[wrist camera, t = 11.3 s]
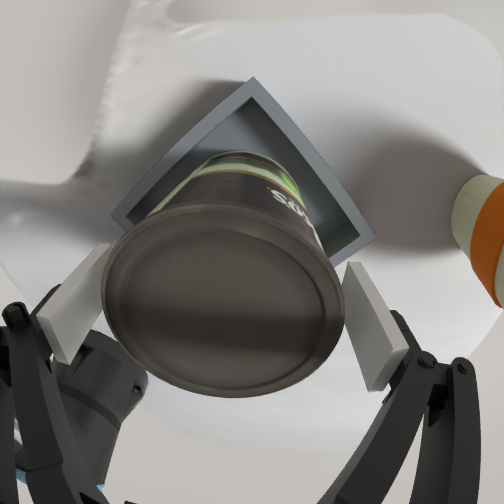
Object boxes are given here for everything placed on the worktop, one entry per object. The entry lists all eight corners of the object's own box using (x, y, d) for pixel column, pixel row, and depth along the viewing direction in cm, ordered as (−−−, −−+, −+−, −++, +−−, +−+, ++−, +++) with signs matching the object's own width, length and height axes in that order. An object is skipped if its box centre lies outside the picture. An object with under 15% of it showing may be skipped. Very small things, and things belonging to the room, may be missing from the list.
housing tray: (237, 304, 29) (234, 331, 26) (129, 200, 24) (110, 215, 21) (361, 218, 25) (376, 237, 21) (254, 82, 19) (253, 76, 16)
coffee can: (273, 128, 20) (296, 153, 8) (317, 241, 25) (363, 368, 12) (158, 181, 22) (58, 268, 10) (212, 279, 27) (181, 409, 14)
